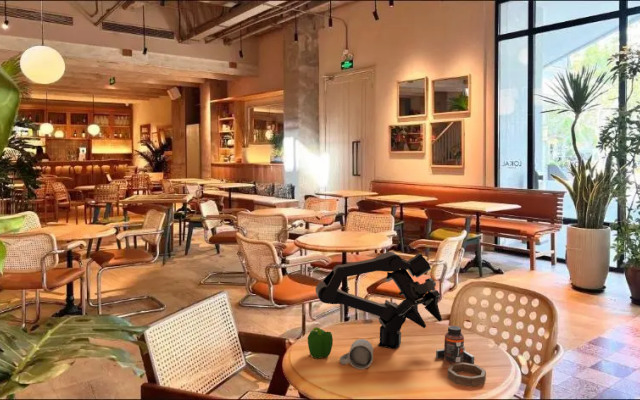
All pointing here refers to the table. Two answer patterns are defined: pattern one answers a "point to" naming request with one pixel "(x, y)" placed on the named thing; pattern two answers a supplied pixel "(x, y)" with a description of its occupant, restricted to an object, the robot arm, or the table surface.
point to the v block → (466, 355)
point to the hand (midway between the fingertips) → (433, 323)
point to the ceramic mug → (359, 354)
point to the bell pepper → (320, 343)
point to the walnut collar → (466, 380)
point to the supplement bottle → (453, 345)
